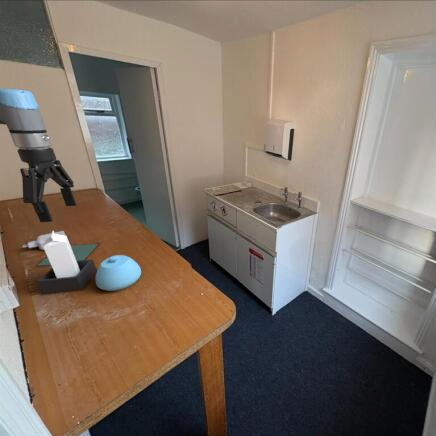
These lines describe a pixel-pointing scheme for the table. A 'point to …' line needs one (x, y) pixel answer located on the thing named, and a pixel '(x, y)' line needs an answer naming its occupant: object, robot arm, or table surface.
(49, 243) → the milk
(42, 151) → the robot arm
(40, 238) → the glue bottle
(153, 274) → the table surface
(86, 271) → the box
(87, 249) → the mat
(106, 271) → the sugar bowl
